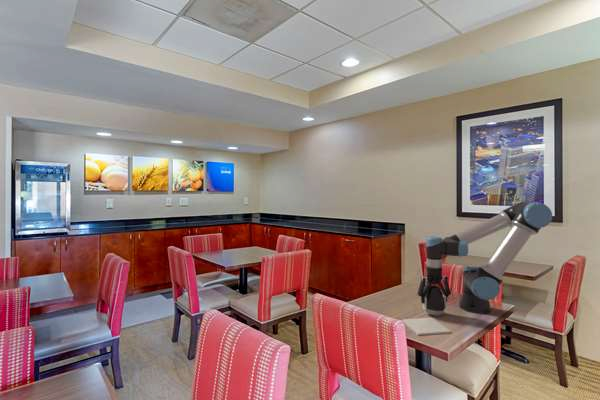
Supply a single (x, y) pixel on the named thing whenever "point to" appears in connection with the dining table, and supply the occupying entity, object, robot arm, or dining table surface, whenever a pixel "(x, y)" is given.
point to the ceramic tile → (425, 326)
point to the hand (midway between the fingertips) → (434, 308)
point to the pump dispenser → (435, 301)
